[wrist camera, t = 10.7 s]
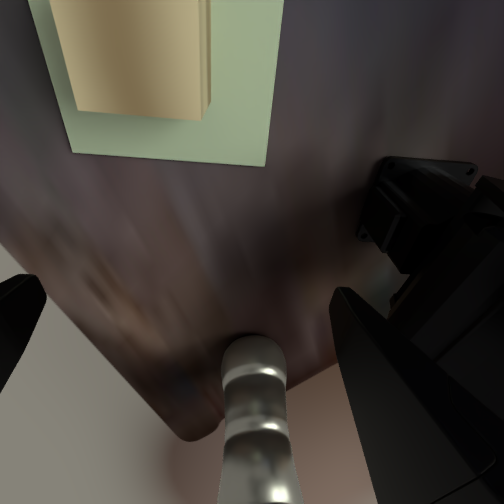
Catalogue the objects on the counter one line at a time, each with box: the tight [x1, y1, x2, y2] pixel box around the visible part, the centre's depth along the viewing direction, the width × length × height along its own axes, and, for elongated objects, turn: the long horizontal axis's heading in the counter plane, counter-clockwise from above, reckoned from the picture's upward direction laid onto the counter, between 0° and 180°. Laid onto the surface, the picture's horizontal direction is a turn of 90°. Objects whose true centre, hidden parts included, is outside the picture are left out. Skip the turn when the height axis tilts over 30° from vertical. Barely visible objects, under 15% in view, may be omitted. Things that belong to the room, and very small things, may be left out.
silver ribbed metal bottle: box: [217, 335, 304, 504], centre depth 22 cm, size 6×7×20 cm
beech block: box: [49, 0, 211, 121], centre depth 12 cm, size 5×5×5 cm
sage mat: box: [28, 0, 284, 167], centre depth 14 cm, size 12×12×1 cm
